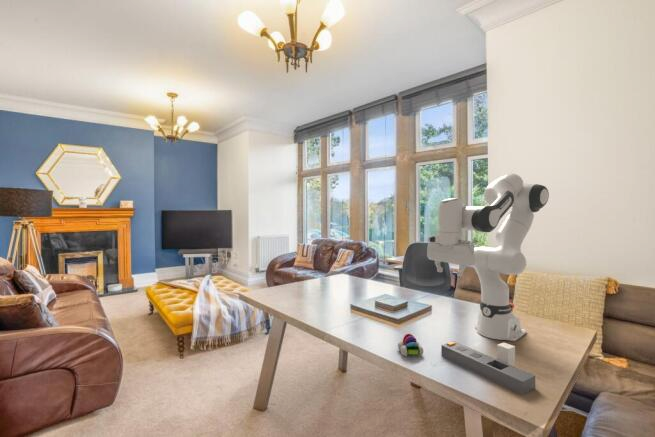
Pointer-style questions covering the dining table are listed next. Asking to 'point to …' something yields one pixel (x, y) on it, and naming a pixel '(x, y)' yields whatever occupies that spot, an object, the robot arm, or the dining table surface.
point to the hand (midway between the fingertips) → (449, 274)
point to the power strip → (489, 367)
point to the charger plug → (506, 353)
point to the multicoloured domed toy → (410, 346)
